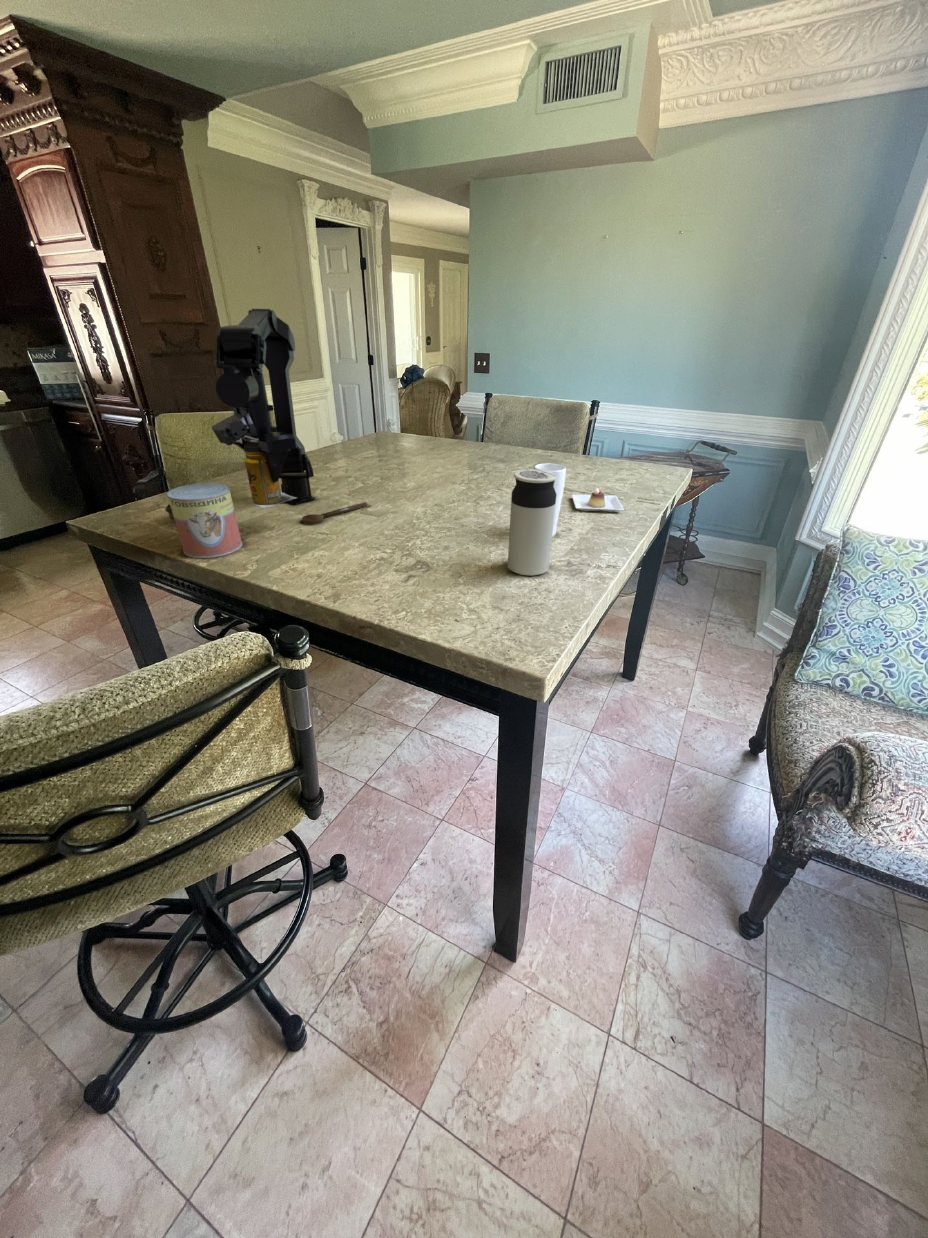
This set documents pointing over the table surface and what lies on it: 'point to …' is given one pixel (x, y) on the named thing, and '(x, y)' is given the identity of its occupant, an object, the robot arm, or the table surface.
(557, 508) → the drinking glass
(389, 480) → the table surface
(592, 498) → the dessert
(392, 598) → the table surface
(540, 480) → the travel mug
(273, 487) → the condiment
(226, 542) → the canned food
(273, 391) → the robot arm
